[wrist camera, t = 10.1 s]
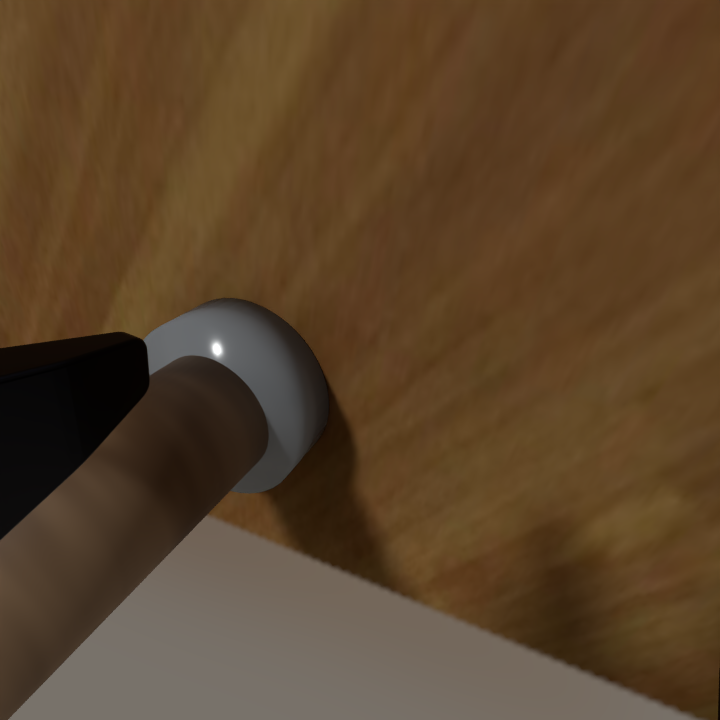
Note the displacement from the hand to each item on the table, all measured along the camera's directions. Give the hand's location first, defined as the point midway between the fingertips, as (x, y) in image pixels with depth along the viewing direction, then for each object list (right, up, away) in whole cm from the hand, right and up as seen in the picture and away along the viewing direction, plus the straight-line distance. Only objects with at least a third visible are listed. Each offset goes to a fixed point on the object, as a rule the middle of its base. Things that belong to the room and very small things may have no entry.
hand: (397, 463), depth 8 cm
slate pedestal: (-6, 0, +19) cm, 20 cm away
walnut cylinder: (-7, -1, +17) cm, 18 cm away
